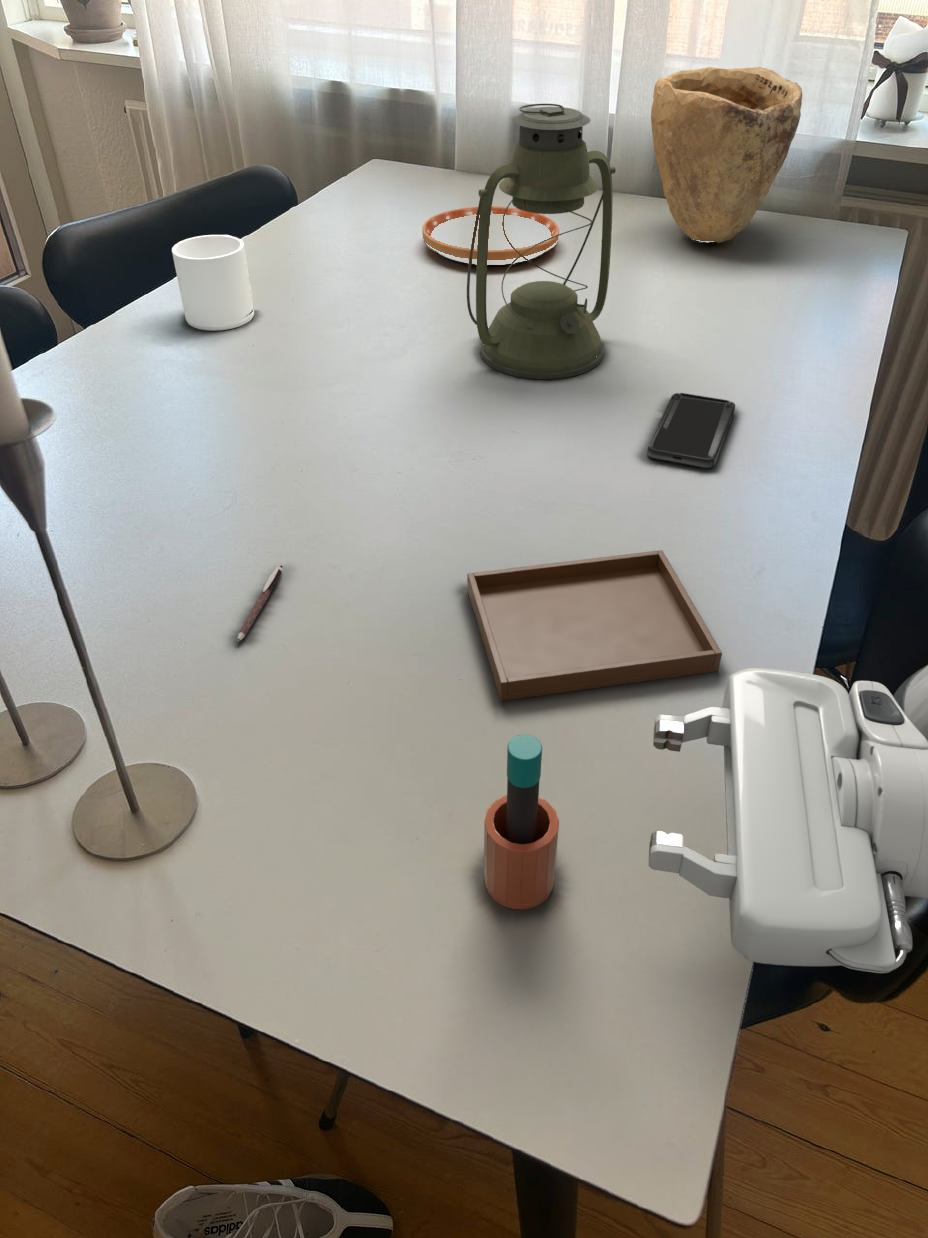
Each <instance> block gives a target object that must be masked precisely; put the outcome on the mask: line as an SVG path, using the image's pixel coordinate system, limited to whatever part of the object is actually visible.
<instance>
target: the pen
mask: <svg viewBox="0 0 928 1238" xmlns="http://www.w3.org/2000/svg"><path fill="white" fill-rule="evenodd" d="M283 567H284V566H283V565H282V564H281V565H279V566H276V567H275V568H274V570H273V571H272V572H271V574H270V576H269V577H268V579H267V580H266V583H265V584H264V586H263V589H262V591H261V593H260V594H259V596H258V597H257V599H256V601H255V603H254V605H253V607H252V608H251V610H250V611H249V613H248V615H247V617H246V619H245V621H244V622H243V624H242V626H241V628H240V629H239V631H238V634H237V638H236V639H237V642H240V641H242V640H243V639H244V638H245V637H246V636H247V634H248V632H249V631H250V629H251V627H252V626H253V624H254V622H255V621H256V619H257V617H258V616H259V614H260V612H261V610H262V609H263V607H264V605H265V604H266V602H267V601H268V599H269V597H270V595H271V593H272V591H273V590H274V588H275V586H276V585H277V583H278V581H279V579H280V578H281V575H282V573H283Z"/></svg>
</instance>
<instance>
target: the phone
mask: <svg viewBox="0 0 928 1238" xmlns="http://www.w3.org/2000/svg"><path fill="white" fill-rule="evenodd" d="M735 409H736V403H735V402H734V401H732V400H728V399H722V398H715V397H710V396H703V395H698V394H691V393H684V392H676V393H673V394H672V395H671V396H670V398H669V400H668V403H667V405H666V407H665V409H664V411H663V413H662V415H661V416H660V419H659V421H658V423H657V425H656V427H655V429H654V432H653V433H652V436H651V438H650V439H649V441H648V442H647V443H648V444H647V450H646V455H647V456H648V457H649V458H650V459H653V460H657V461H663V462H669V463H673V464H674V463H675V464H681V465H684V466H685V465H686V466H691V467H697V468H702V469H710V468H713V467H715V466H716V463H717V460H718V457H719V455H720V452H721V449H722V447H723V444H724V442H725V438H726V436H727V433H728V431H729V428H730V425H731V423H732V420H733V417H734V414H735Z"/></svg>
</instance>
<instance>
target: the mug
mask: <svg viewBox="0 0 928 1238" xmlns="http://www.w3.org/2000/svg"><path fill="white" fill-rule="evenodd" d="M171 253H172V259H173V264H174V268H175V273H176V279H177V283H178V288H179V293H180V299H181V303H182V309H183V313H184V319H185V321H186V323H187V324H188V325H189V326H191V327H192V328H195V329H198V330H202V331H210V332H211V331H215V332H217V331H226V330H232V329H236V328H239V327H242V326H244V325H246V324H248V323H249V322H250V321H251V320H252V319H253V318H254V316H255V309H254V310H253V312H252V313H251V314H250V315H248V316H247V317H245V316H246V315H247V314H249V313H250V312H251V310H252V309H253V306H254V301H253V293H252V287H251V280H250V273H249V269H248V262H247V261H248V260H247V256H246V254H247V253H246V248H245V242H244V241H243V240H242V239H240V238H239V237H237V236H232V235H229V234H207V235H198V236H193V237H188V238H185V239H183V240H181V241H178V242H177V243H175V244H174V245H173V246H172V248H171ZM243 317H245V318H243ZM241 318H243V319H241ZM238 319H241V320H238ZM236 320H238V321H236ZM233 321H235V322H233ZM229 322H231V323H229Z"/></svg>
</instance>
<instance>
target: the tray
mask: <svg viewBox="0 0 928 1238" xmlns="http://www.w3.org/2000/svg"><path fill="white" fill-rule="evenodd" d="M466 577H467V579H466V580H467V581H466V582H467V589H466V591H467V594H468V597H469V600H470V604H471V607H472V610H473V613H474V617H475V620H476V624H477V627H478V631H479V634H480V636H481V640H482V643H483V647H484V650H485V654H486V657H487V661H488V663H489V667H490V670H491V673H492V677H493V680H494V683H495V687H496V690H497V694H498V696H499V700H500V701H501V702H503V701H512V700H519V699H525V698H526V699H527V698H531V697H532V698H533V697H539V696H548V695H555V694H561V693H569V692H577V691H584V690H590V689H597V688H605V687H612V686H620V685H626V684H634V683H642V682H649V681H656V680H662V679H663V680H664V679H670V678H678V677H684V676H691V675H692V676H693V675H699V674H706V673H714V672H719V669H720V665H721V661H722V656H723V652H722V650H721V649H720V646H719V645H718V643H717V642H716V640H715V638H714V636H713V635H712V633H711V631H710V630H709V628H708V626H707V624H706V623H705V621H704V620H703V617H702V616H701V614H700V613H699V611H698V609H697V607H696V606H695V604H694V602H693V600H692V599H691V597H690V595H689V594H688V592H687V589H685V586H684V585H683V583H682V582H681V579H680V578H679V576H678V575H677V573H676V571H675V569H674V567H673V566H672V564H671V563H670V560H669V559H668V558H667V556H666V554H665V552H664V551H663V549H659V550H651V551H643V552H634V553H625V554H618V555H611V556H610V555H609V556H601V557H593V558H585V559H577V560H576V559H575V560H568V561H560V562H552V563H551V562H550V563H543V564H535V565H526V566H519V567H509V568H501V569H492V570H485V571H477V572H468V573H467V575H466Z"/></svg>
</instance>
